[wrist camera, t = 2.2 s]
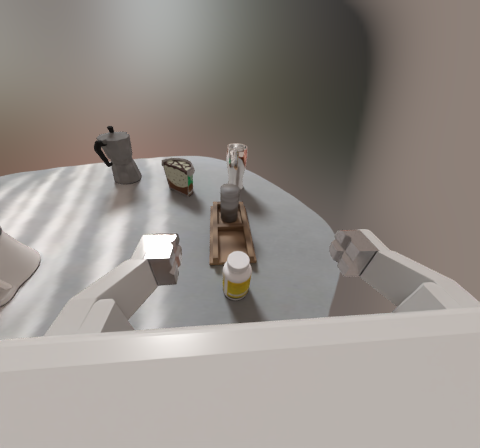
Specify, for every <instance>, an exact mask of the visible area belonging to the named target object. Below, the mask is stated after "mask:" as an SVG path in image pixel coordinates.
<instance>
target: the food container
mask: <svg viewBox="0 0 480 448" xmlns="http://www.w3.org/2000/svg"><path fill="white" fill-rule="evenodd" d="M162 166H163V167H164V170H165V174H166V177H167V181H168V184H169V188H171V189H173V190H175V191H177V192H179V193H181V194H184V195H186V196H188V197H189V196H191V194H192V193H193V174H194V171H195V170H194V167H193V165H192V163H191V162H190V161H188V160H186V159H181V158H170V159H165V160H162Z"/></svg>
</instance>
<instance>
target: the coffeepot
mask: <svg viewBox="0 0 480 448" xmlns="http://www.w3.org/2000/svg"><path fill="white" fill-rule="evenodd" d="M107 128H108V130H109V133H105V134H101V135H99V136H98V137H97V140H98V141H96V142H95V145H94V150H95V152H96V153H97V154H98V155H99V156H100V158H101V159H102V160H103V161H104V163H105V164H106V165H107V166H108V167H110V166H112V171H113V176H114V180H115V181H116V182H117V183H120V184H131V183H134V182H137V181H139V180H140V179H141V173H140V171H139V169H138V167H137V165H136V163H135V162H134V160H133V159H132V149H131V143H130V136H129V134H127V132H114V130H113V127H112V126H108V127H107ZM101 147H102V148H103V150H104V152H105V154H106V155H107V157H108V158H109V159H111V163H109V162H108V159H107V158H106V157H105V155H104V154H103V152H102V151H101Z"/></svg>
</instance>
